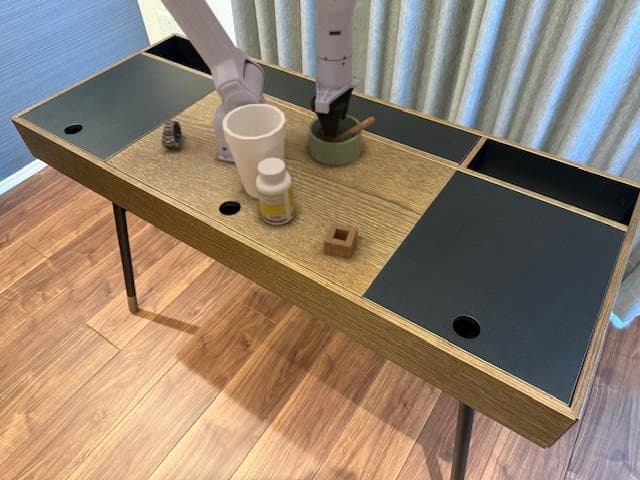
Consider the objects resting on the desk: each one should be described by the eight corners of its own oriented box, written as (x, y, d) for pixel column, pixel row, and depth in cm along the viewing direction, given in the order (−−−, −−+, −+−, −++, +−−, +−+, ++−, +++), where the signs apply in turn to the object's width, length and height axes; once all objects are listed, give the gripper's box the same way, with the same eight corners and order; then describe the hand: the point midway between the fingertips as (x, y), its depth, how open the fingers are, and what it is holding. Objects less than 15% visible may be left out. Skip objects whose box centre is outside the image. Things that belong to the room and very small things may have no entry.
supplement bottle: (281, 197, 80) (275, 149, 73) (302, 214, 77) (298, 166, 70) (254, 213, 78) (245, 165, 71) (275, 231, 75) (268, 183, 68)
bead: (326, 146, 90) (315, 134, 88) (330, 136, 91) (319, 124, 90) (338, 139, 88) (327, 127, 86) (341, 129, 90) (331, 117, 88)
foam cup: (280, 209, 78) (272, 143, 69) (227, 200, 80) (212, 134, 71) (298, 173, 84) (293, 107, 75) (248, 164, 86) (237, 100, 77)
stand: (324, 252, 72) (323, 241, 70) (332, 233, 74) (331, 222, 72) (350, 258, 71) (350, 247, 69) (357, 239, 73) (357, 227, 72)
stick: (327, 145, 88) (371, 118, 81) (328, 140, 88) (372, 114, 81) (331, 149, 88) (375, 123, 81) (333, 145, 89) (376, 119, 82)
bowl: (302, 160, 87) (301, 139, 83) (318, 130, 93) (317, 110, 89) (353, 169, 85) (354, 148, 81) (366, 138, 91) (367, 117, 87)
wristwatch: (169, 150, 92) (159, 145, 87) (173, 123, 92) (164, 117, 87) (185, 152, 92) (176, 147, 87) (189, 126, 92) (180, 119, 87)
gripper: (346, 78, 70) (346, 154, 80) (370, 34, 79) (367, 107, 89) (300, 72, 71) (305, 148, 81) (329, 30, 80) (330, 102, 90)
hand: (335, 126), depth 85 cm, fingers open, 5 cm apart
